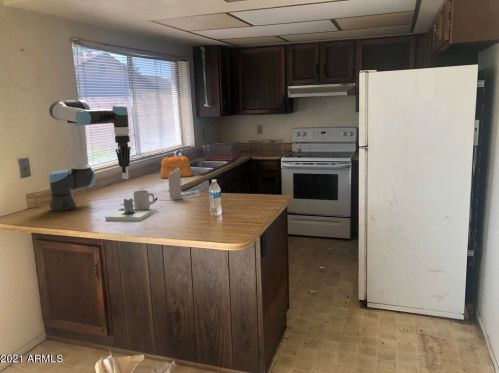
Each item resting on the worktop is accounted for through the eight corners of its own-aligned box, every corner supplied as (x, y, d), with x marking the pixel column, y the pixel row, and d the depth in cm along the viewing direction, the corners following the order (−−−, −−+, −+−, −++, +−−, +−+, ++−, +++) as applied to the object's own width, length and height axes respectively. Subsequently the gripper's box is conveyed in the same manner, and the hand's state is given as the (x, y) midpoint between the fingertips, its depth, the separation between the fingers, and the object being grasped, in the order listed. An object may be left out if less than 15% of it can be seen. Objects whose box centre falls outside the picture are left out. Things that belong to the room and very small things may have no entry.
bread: (192, 176, 358) (191, 156, 355) (161, 179, 352) (159, 158, 348) (190, 174, 373) (189, 154, 370) (160, 176, 367) (158, 156, 363)
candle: (159, 198, 277) (157, 168, 273) (180, 196, 281) (178, 166, 277) (160, 201, 270) (158, 170, 266) (182, 199, 274) (180, 168, 270)
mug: (137, 212, 243) (135, 193, 241) (133, 209, 250) (131, 191, 248) (157, 209, 249) (156, 191, 247) (152, 206, 256) (151, 188, 254)
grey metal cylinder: (123, 217, 233) (122, 200, 231) (127, 215, 237) (126, 198, 235) (131, 217, 232) (129, 200, 230) (135, 215, 236) (133, 198, 234)
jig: (105, 220, 229) (105, 215, 228) (119, 212, 244) (119, 207, 243) (140, 221, 225) (139, 215, 224) (152, 213, 240) (152, 208, 240)
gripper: (122, 136, 219) (126, 180, 224) (134, 133, 231) (137, 176, 236) (109, 136, 220) (113, 180, 225) (121, 133, 233) (124, 176, 237)
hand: (125, 178), depth 231 cm, fingers closed
